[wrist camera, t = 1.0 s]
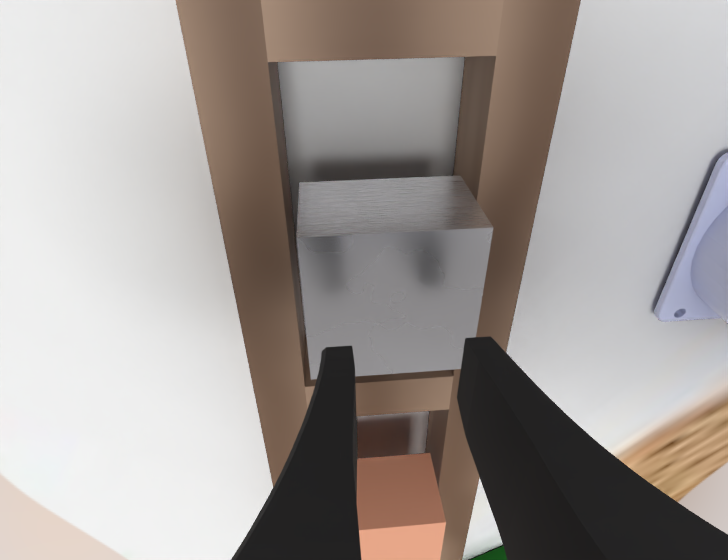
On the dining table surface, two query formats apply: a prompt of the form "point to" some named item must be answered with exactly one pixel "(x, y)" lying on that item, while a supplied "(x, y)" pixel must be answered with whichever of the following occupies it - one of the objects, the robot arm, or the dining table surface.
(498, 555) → the milk carton
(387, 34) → the brown ladder-shaped frame
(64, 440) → the dining table surface
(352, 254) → the silver metal block
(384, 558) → the salmon pink cube
